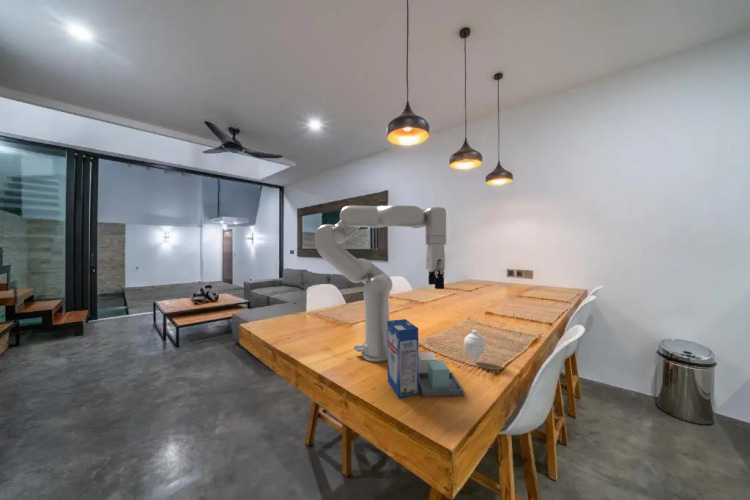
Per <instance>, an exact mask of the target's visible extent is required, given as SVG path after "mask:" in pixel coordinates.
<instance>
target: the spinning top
mask: <svg viewBox="0 0 750 500" xmlns="http://www.w3.org/2000/svg"><path fill="white" fill-rule="evenodd" d="M471 332H472V333H469V334H467V335H466V336H465V337H464V339H463V343H464V347H465V350H466V352H468V354H469V356H470V357H471V359H472V360H473V362H474V363H476V360H478V359H479V358H480V357H481V355H482V354H483V353H484V351H485V349H486V348H487V347H486V346H487V344H486V339H485V338H484V337H483V336H482V335H480V334H479V333H478V330H477V329H476V330H475V329H472V330H471Z"/></svg>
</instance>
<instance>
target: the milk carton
mask: <svg viewBox="0 0 750 500" xmlns="http://www.w3.org/2000/svg"><path fill="white" fill-rule="evenodd" d="M387 348H388V360H387V384H388V385H389V386H390V388H391V389H392V390H393V392H394V394H395V396H397V398H398V399H399V400H401V399H406V398H412V397H416V396H419V394H420V393H419V391H420V388H419V370H418V353H419V328H418V327H417V326H415V324H413V323H412V322H410V321H408V320H407V318H403V319H393V320H389V321H387Z"/></svg>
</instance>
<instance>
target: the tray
mask: <svg viewBox="0 0 750 500" xmlns="http://www.w3.org/2000/svg"><path fill="white" fill-rule="evenodd" d="M419 391H420V393H421V396H422V398H440V397H441V398H443V397H444V398H446V397H447V398H449V397H464V396H465V394H464V392H465V390H464V388H463V386H462V385H461V384H460V382H459V381H458V379H457V377H456V376H455V375H454V373H453V371H449V389H444V390H432V388H431V386H430V384H429V382H428V373H419Z"/></svg>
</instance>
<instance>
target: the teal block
mask: <svg viewBox="0 0 750 500" xmlns="http://www.w3.org/2000/svg"><path fill="white" fill-rule="evenodd" d="M449 372H450V368H449V366H447V364H446V362H445V361H444V360H437V361H428V382H429V384H430V386H431V388H432V390H444V389H449Z"/></svg>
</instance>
